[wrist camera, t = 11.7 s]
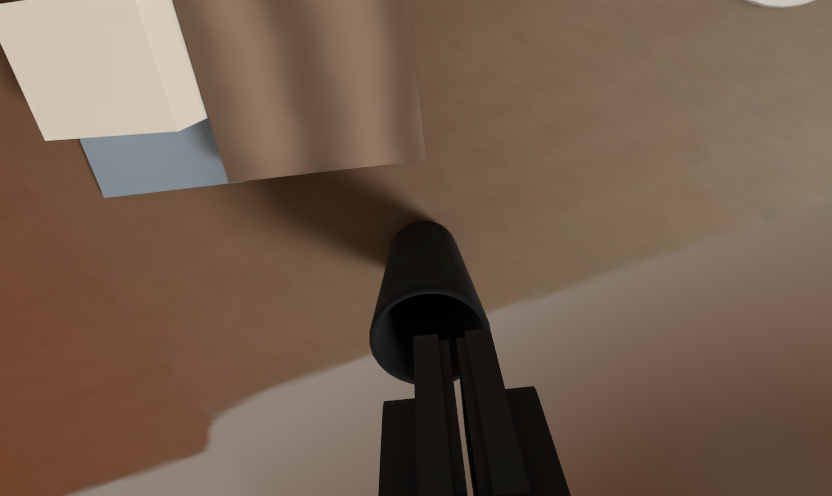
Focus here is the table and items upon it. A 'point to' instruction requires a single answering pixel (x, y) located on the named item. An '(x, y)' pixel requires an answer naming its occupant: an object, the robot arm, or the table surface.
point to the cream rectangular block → (102, 66)
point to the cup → (423, 299)
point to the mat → (156, 161)
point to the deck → (306, 83)
